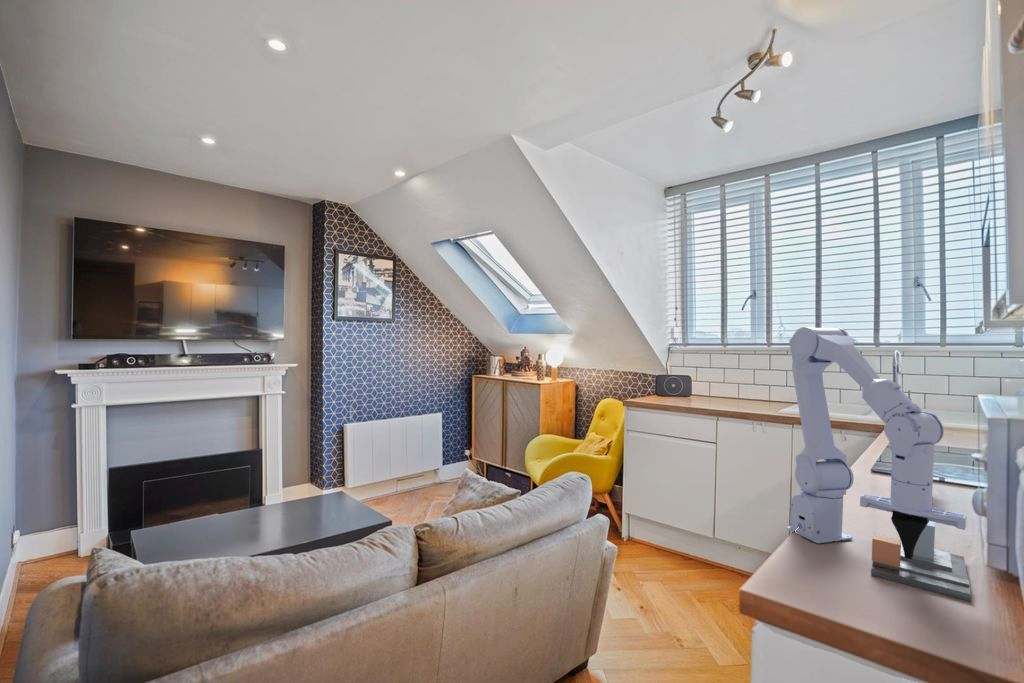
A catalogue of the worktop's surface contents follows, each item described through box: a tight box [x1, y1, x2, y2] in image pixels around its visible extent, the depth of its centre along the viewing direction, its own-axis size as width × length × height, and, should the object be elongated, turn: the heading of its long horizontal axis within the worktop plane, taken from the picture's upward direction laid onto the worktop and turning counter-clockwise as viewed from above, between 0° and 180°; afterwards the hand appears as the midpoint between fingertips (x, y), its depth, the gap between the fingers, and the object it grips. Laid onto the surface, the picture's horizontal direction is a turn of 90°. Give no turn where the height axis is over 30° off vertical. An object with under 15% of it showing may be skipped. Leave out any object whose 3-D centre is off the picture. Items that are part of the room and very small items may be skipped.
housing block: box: [913, 521, 936, 559], centre depth 94 cm, size 5×4×6 cm
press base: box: [870, 542, 972, 602], centre depth 91 cm, size 18×13×2 cm
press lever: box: [871, 533, 901, 568], centre depth 90 cm, size 3×4×4 cm
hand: (908, 556), depth 88 cm, fingers closed
